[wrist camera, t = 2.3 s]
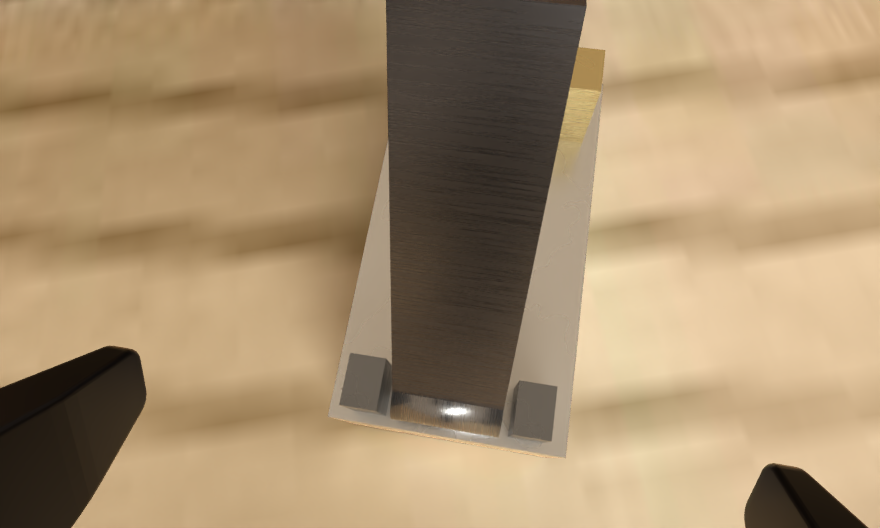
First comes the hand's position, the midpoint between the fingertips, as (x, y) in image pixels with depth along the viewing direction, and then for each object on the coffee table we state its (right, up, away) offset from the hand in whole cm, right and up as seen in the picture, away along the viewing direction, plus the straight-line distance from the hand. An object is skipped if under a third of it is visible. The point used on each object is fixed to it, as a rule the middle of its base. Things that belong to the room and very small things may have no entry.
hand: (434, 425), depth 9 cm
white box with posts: (+1, +2, +15) cm, 15 cm away
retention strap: (0, -1, +8) cm, 8 cm away
